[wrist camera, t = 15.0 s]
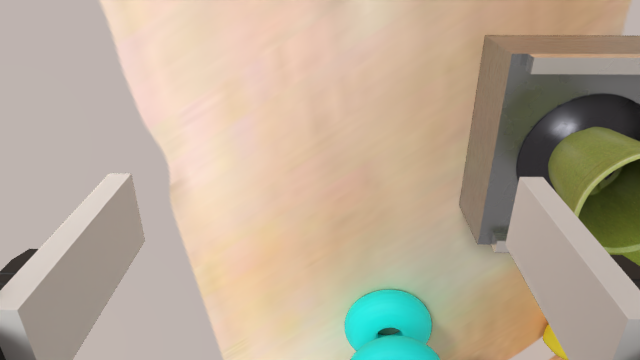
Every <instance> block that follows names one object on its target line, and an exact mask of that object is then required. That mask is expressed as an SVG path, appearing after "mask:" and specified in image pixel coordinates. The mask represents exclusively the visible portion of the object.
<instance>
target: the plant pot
mask: <svg viewBox="0 0 640 360" xmlns="http://www.w3.org/2000/svg"><path fill="white" fill-rule="evenodd" d="M614 170H615V171H614ZM548 171H549V177H550V180H551V182H552V184H553V186H554V188H555V190H556V192H557V194H558V195H559V196H560V198H561V199H562V200H563V201H564V202H565V203H566V205H567V206H568V207H569V208H570V209H571V210H572V212H573V213H574V214H575V215H576V216H577V217H578V219H579V220H580V221H581V222H582V223H583V224H584V226H585V227H586V228H587V229H588V230H589V231H590V233H591V234H592V235H593V236H594V237H595V238H596V240H597V241H598V242H599V243H600V244H601V245H602V247H603V248H604V249H605V250H606V251H607V252H608V254H609V255H623V256H625V257H627V258H628V259H630V260H631V261H633V262H634V263H636V264H637V265H639V266H640V142H639V141H637V140H635V139H632V138H630V137H627V136H625V135H623V134H620V133H618V132H615V131H613V130H611V129H608V128H603V127H591V128H588V129H585V130H582V131H578V132H575V133H572V134H570V135H568V136H567V137H565V138H564V139H563V140H562V141H561V142H560V143H559V144H558V145H557V146H556V147H555V149H554V150H553V152H552V154H551V156H550V159H549V162H548ZM613 171H614V172H613ZM612 172H613V174H612V175H611V176H610V177H609V178H607V179H606V180H605V179H604V178H605V177H606V176H607V175H609V174H610V173H612Z"/></svg>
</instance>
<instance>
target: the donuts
mask: <svg viewBox="0 0 640 360" xmlns="http://www.w3.org/2000/svg"><path fill="white" fill-rule="evenodd" d="M385 328H396V329H398V330H400V331H399V332H397V333H395V334H391V335H382V334H378V332H379V331H380V330H382V329H385ZM431 330H432V321H431V317H430V314H429V311H428V310H427V308H426V307H425V305H424V304H423V303H422V302H421V301H420V300H419V299H417V298H416V297H414V296H413V295H411V294H409V293H406V292H403V291H399V290H379V291H375V292H371V293H369V294H367V295H365V296H363V297H361V298H360V299H359V300H357V301H356V302H355V303H354V304H353V305H352V307H351V308H350V309H349V311H348V313H347V316H346V319H345V333H346V337H347V339H348V341H349V343H350V344H351V346H352V347H353V348H354V349H355V350H356V352H355V353H354V355H353V356H352V358H351V360H440V358H439V357H438V355H437V354H436V353H435V352H434V351H433V350H432V349H431V348H430V347H429V346H428V345H426V343H427V341H428V340H429V337H430V334H431Z"/></svg>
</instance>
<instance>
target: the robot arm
mask: <svg viewBox="0 0 640 360" xmlns="http://www.w3.org/2000/svg"><path fill="white" fill-rule="evenodd" d="M144 242H145V238H144V233H143V228H142V224H141V218H140V214H139V209H138V204H137V199H136V194H135V189H134V184H133V180H132V175H131V174H120V173H118V174H117V173H109V174H108V175H107V176H106V177H105V178H104V179H103V181H101V183H100V184H99V185H98V186H97V187H96V188H95V189H94V190H93V191H92V192H91V193H90V194H89V196H88V197H87V198H86V199H85V200H84V201H83V202H82V203H81V204H80V205H79V206H78V207H77V209H76V210H75V211H74V212H73V213H72V214H71V215H70V216H69V217H68V218H67V219H66V220H65V222H63V224H62V225H61V226H60V227H59V228H58V229H57V230H56V231H55V232H54V233H53V234H52V236H50V238H49V239H48V240H47V241H46V242H45V243H44V244H43V245H42V246H41V247H40V248H39V249H29V250H27V251H25V252H24V253H22V254H20V255H19V256H17V257H16V258H14V259H12V260H11V261H10V262H9V263H8V264H7V265H6V266H5V267H4V268H3V269H2V270H1V271H0V360H73V358H74V357H75V355H76V353H77V352H78V350H79V348H80V347H81V345H82V344H83V342H84V340H85V339H86V337H87V335H88V333H89V332H90V330H91V329H92V327H93V325H94V324H95V322H96V321H97V319H98V317H99V316H100V314H101V312H102V310H103V309H104V307H105V306H106V304H107V302H108V301H109V299H110V297H111V296H112V294H113V292H114V291H115V289H116V288H117V286H118V284H119V283H120V281H121V279H122V278H123V276H124V274H125V273H126V271H127V270H128V268H129V266H130V264H131V263H132V261H133V260H134V258H135V256H136V255H137V253H138V251H139V250H140V248H141V247H142V245H143V243H144ZM505 245H506V247H507V249H508V251H509V253H510V254H511V256H512V258H513V260H514V262H515V263H516V265H517V267H518V269H519V271H520V272H521V274H522V276H523V278H524V280H525V282H526V283H527V285H528V287H529V289H530V291H531V292H532V294H533V296H534V298H535V300H536V301H537V303H538V305H539V307H540V309H541V311H542V312H543V314H544V316H545V318H546V320H547V321H548V323H549V325H550V327H551V329H552V330H553V332H554V334H555V336H556V338H557V340H558V341H559V343H560V345H561V347H562V349H563V350H564V352H565V354H566V356H567V358H568V359H569V360H640V266H639V265H637V264H636V263H634V262H633V261H631V260H630V259H628V258H627V257H625V256H623V255H609V254H608V252H607V251H606V250H605V249H604V248H603V247H602V245H601V244H600V243H599V242H598V241H597V240H596V238H595V237H594V236H593V235H592V234H591V233H590V231H589V230H588V229H587V228H586V227H585V226H584V224H583V223H582V222H581V221H580V220H579V219H578V217H577V216H576V215H575V214H574V213H573V212H572V210H571V209H570V208H569V207H568V206H567V205H566V203H565V202H564V201H563V200H562V199H561V198H560V196H559V195H558V194H557V193H556V192H555V191H554V189H553V188H552V187H551V186H550V185H549V184H548V182H547V181H546V180H545V179H544V178H543V177H520V178H519V182H518V187H517V192H516V197H515V201H514V206H513V211H512V215H511V220H510V225H509V229H508V234H507V239H506V243H505Z"/></svg>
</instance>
